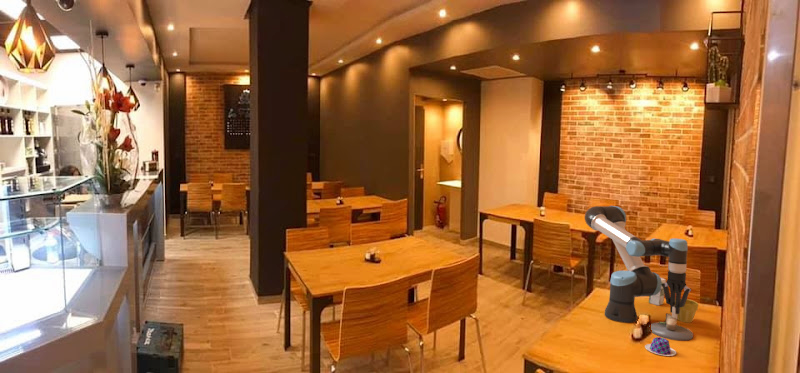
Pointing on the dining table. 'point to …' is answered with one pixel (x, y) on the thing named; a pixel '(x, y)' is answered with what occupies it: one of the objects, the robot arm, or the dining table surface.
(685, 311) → the plant pot
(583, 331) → the dining table surface
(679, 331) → the flat grey disc
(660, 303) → the syrup box
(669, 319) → the tuning peg
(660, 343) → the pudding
